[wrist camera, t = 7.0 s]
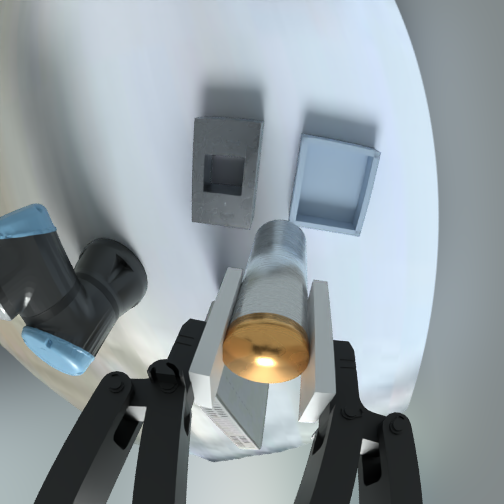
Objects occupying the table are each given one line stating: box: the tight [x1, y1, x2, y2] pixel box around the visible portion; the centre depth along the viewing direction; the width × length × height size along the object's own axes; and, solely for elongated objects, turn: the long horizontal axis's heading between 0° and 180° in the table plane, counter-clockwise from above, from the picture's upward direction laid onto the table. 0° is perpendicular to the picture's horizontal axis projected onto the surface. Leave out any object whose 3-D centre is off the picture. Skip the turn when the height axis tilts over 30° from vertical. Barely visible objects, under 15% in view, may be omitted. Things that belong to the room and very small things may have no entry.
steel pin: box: [223, 220, 309, 383], centre depth 15 cm, size 4×4×10 cm
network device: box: [200, 301, 269, 450], centre depth 45 cm, size 26×9×20 cm, turn 16°
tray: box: [289, 134, 381, 237], centre depth 35 cm, size 12×10×3 cm
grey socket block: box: [192, 116, 264, 230], centre depth 35 cm, size 14×8×4 cm, turn 175°
